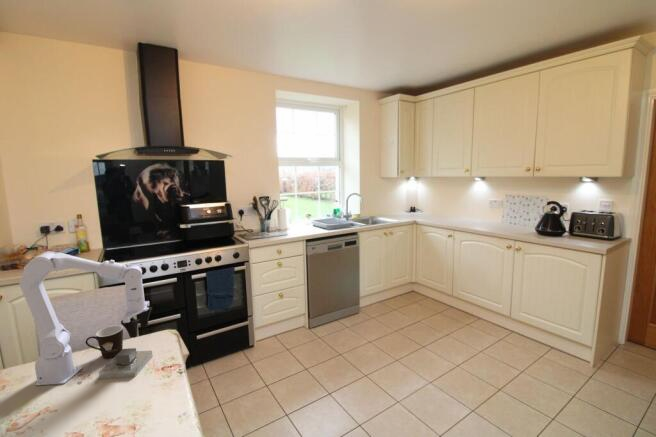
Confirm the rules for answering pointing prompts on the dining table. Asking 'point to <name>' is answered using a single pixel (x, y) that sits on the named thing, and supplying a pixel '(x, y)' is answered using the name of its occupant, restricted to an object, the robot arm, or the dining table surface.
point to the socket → (126, 366)
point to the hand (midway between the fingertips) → (139, 331)
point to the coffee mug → (109, 341)
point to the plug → (126, 356)
